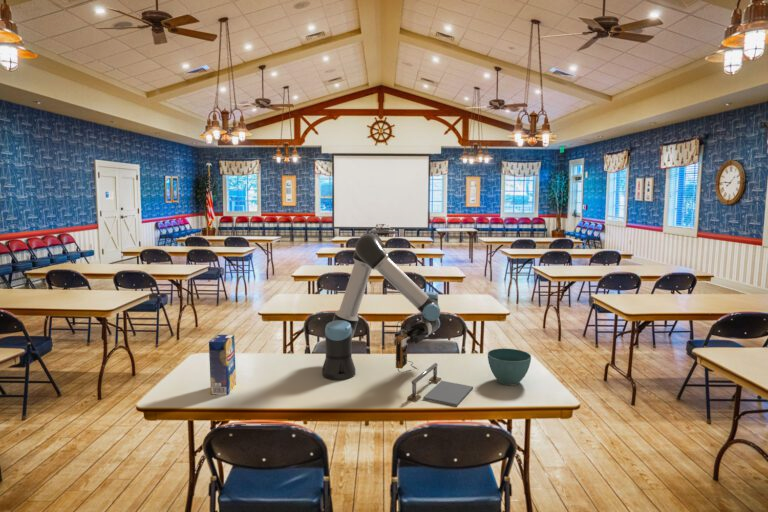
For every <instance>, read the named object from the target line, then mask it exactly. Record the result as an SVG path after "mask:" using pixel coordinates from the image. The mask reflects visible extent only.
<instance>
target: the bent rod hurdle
mask: <svg viewBox="0 0 768 512" xmlns="http://www.w3.org/2000/svg"><path fill="white" fill-rule="evenodd" d="M430 372H432V373H433V375H432V376H431V377H430V378H429V379H428V381H431V382H430V383H435V384H439V383H440V382H441V381H442V377H438V363H437V362H435V363H433V364H431V366H429V367H428V368H427V369H426V370H424V371H423V372H422V373H421V374H419V375H418V376H416V377H415V378H414V379H413V380H412V381H411V385H412V387H411V388H412V389H411V390H412V392H411V393H410V395H409V396H407V400H408V401H412V402H418V401H419V400H420V399H421V398H422V395H420V394H417V383H418V382H420V381H421V380H422V379H423V378H424V377H426V376H427V375H428V374H429V373H430ZM440 380H441V381H440Z"/></svg>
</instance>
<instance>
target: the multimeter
mask: <svg viewBox="0 0 768 512" xmlns="http://www.w3.org/2000/svg"><path fill="white" fill-rule="evenodd" d="M403 321H404V323H403ZM406 321H407V320H406V319H405V318H401V319H400V321H398V322H397V324H396V329H398V326H399V323H400V330H401V335H399V336H398V337H397V338H396V345H395V369H397V371H398V372H399V373H408V372H412V371H414V370H418V371H420V370H419V369H418V368H417V366H413V364H414V362H413V361H410V360H408V344H407V345H406V346H404V347H401V340H403V339H405V338H407V334H406V333H405V334H403V329H404V328H403V326H404V327H406V326H407V325H406V324H407V323H406ZM403 324H404V325H403ZM408 362H409V363H411V364H410V366H411V367H412V368H413V369H408V370H406V371H401V370H399V369H403V368H404V367H405V366H406V365H407V364H408Z"/></svg>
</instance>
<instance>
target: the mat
mask: <svg viewBox="0 0 768 512" xmlns="http://www.w3.org/2000/svg"><path fill="white" fill-rule="evenodd" d="M473 389H474V386H473V385H467V384H462V383H457V382H451V381H446V380H441V381H439V382H438V383H436V385H435V386H434V387H433V388H432V389H430V391H428V392H427V393H426V394H425V395H424V396H423V397H422V398H423V400H424V401H427V402H434V403H438V404H442V405H447V406H454V407H458V406H459V405H460V404H461V403H462V402H463V400H464V399H466V397H467V396H468V395H469V394H470V393H471V392H472V391H473Z"/></svg>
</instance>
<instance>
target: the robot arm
mask: <svg viewBox="0 0 768 512" xmlns="http://www.w3.org/2000/svg"><path fill="white" fill-rule="evenodd" d="M383 246H384V245H383V241H382V239H381V238H380V236H378V235H377V234H375V233H372V232H371V233H370V232H368V233H365V234H362V235H361V236H360V237H359V238H358V240H357V241H356V243H355V247H354V248H355V250H354V253H353V255H352V259H353V261H354V264H353V267H352V270H351V273H350V277H349V278H348V279H349V280H348V282H347V285H346V288H345V292H344V295H343V298H342V300H341V303H340V307H339V309H338V310H335V312H334V315H333V319H332V321H329V322H327V324H326V325H325V329H324V334H325V336H324V337H325V338H324V339H325V359H324V362H323V365H322V367H321V368H322V369H321V376H322V377H323V378H325V379H328V380H338V381H340V380H347V379H351V378H353V377H354V376H355V375H356V367H355V363H354V360H353V358H352V357H353V356H352V354H353V353H352V342H353V337H354V335H355V334H356V329H357V325H358V323H359V317H358V312H359V309H360V306H361V303H362V300H363V298H364V297H363V296H364V294H365V291H366V287H367V285H368V281H369V279H370V275H371V273H372V270H373V271H375V270H376V271H378V273H380V275H382V277H384V278H385V280H386V281H388V283H390V284H391V285H392V286H393V287H394V288H395V290H397V291H398V292H399V293H400V294H401V295H402V296H403V297H404V298H406V299H407V300H408V301H409V303H411V304H412V305H413V306H414V307H415V308H416V309H417V310H418V312H420V313H421V317H420V318H421V319H420V320H418V321H417V322H415V323H413V324H412V325H411V326H410V328H408V329H405V328H403V334H405V333H406V334H407V338H405V339H403V340H401V347H404V346H406V345H407V346H408V345H409V344H410V345H411V344H418V343H420V342H422V341H424V340H427V339H429V335H432V334H433V333H435V332H436V331H437V330H438V329H439V328H440V327H441V321H440V318H439V317H440V314H441V307H440V306H439V293H437V292H435V291H424V290H423V289H422V288H421V287H419V285H418V284H416V283H415V282H414V281H413V279H411V278H410V277H409V276H408V275H407V274H406V272H404V271H403V270H402V269H401V268H400V266H398V265H397V264H396V263H395V262H394V261H393V260H392V259H391V258H390V257H389V253H388V252H387V251H386V250H385V249H384V247H383ZM399 335H401V329H400V330H397V331H396V332H395V333H394V338H392V346H396V338H397V337H398V336H399Z"/></svg>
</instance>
